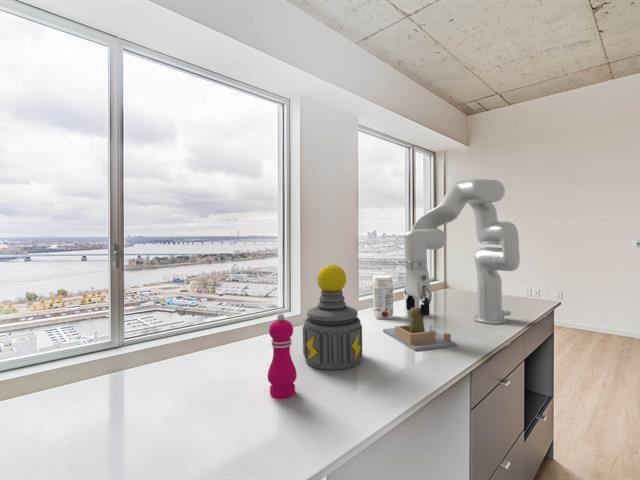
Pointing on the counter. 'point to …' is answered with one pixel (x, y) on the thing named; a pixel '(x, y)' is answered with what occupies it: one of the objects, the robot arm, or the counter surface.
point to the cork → (416, 321)
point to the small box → (409, 310)
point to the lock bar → (428, 326)
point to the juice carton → (383, 297)
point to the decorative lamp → (332, 325)
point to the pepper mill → (281, 359)
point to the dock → (419, 338)
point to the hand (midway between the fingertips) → (417, 312)
